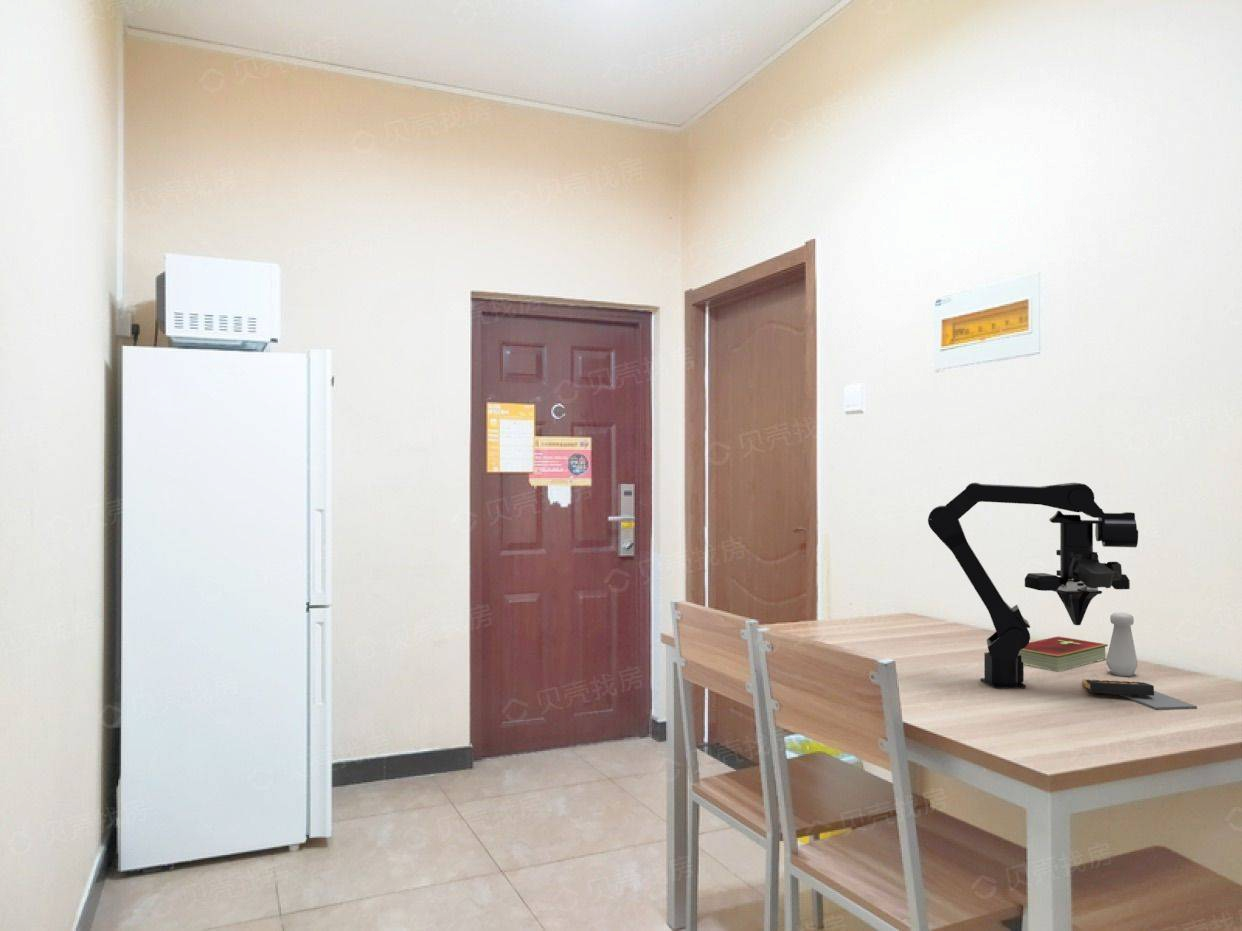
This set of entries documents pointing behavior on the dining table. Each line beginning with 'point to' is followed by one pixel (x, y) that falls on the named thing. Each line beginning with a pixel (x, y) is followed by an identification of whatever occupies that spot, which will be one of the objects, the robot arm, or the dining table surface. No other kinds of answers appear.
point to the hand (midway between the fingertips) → (1076, 624)
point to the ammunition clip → (1118, 687)
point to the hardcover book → (1061, 653)
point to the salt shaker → (1122, 646)
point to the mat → (1159, 701)
